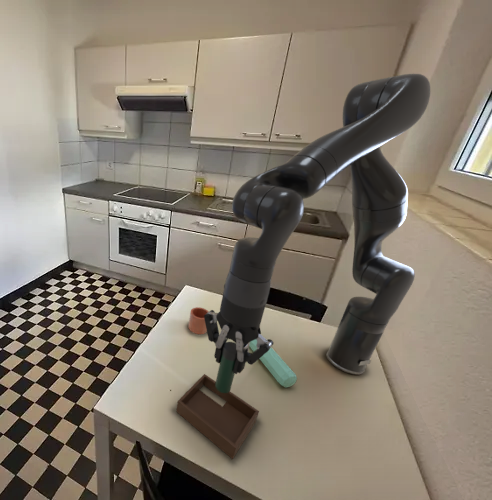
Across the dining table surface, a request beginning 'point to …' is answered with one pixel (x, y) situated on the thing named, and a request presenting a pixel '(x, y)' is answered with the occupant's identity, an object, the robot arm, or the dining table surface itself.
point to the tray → (218, 416)
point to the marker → (226, 367)
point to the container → (276, 366)
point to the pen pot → (197, 320)
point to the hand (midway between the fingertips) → (227, 365)
